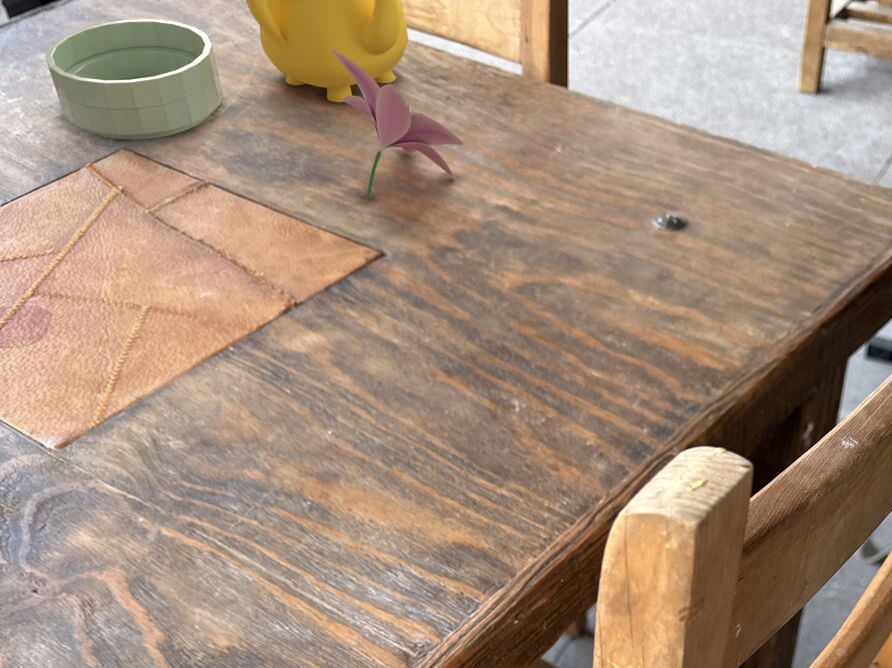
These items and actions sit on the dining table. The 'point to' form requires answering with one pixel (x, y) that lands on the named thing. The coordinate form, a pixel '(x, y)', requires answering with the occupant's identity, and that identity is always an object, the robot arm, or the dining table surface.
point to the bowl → (135, 78)
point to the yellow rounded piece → (331, 39)
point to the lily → (396, 120)
